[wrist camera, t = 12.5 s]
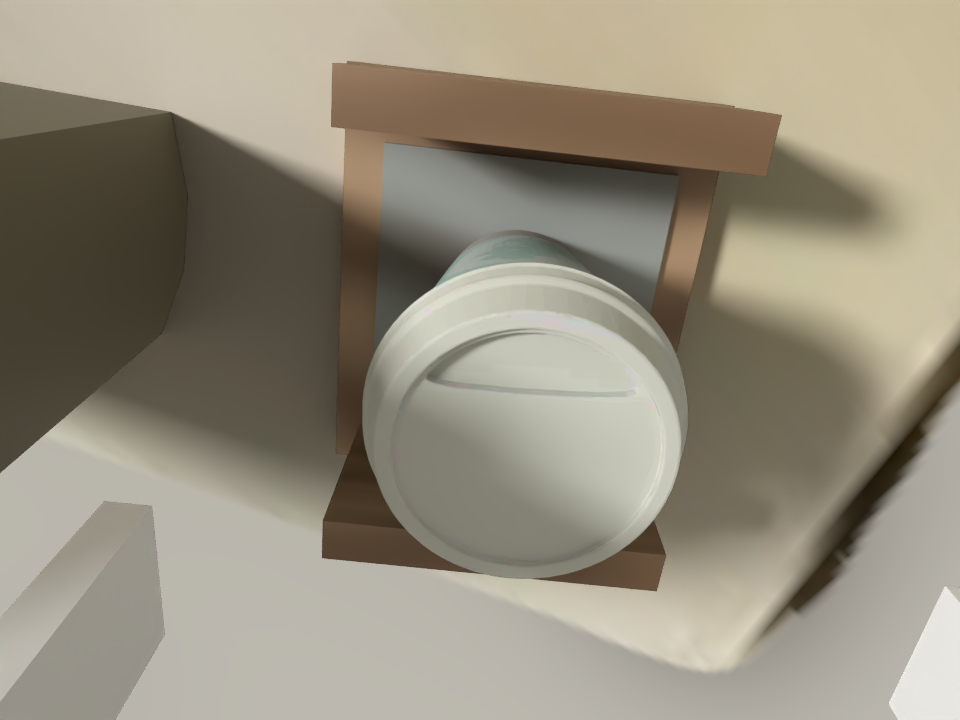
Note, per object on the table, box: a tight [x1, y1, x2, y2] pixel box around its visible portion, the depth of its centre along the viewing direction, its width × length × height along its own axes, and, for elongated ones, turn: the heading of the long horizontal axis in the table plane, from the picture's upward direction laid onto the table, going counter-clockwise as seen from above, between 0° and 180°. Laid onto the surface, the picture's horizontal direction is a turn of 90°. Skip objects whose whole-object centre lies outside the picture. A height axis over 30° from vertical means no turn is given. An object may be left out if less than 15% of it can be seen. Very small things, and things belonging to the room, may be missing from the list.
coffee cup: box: [362, 230, 688, 579], centre depth 22 cm, size 8×8×12 cm
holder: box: [322, 61, 782, 591], centre depth 25 cm, size 16×14×8 cm
